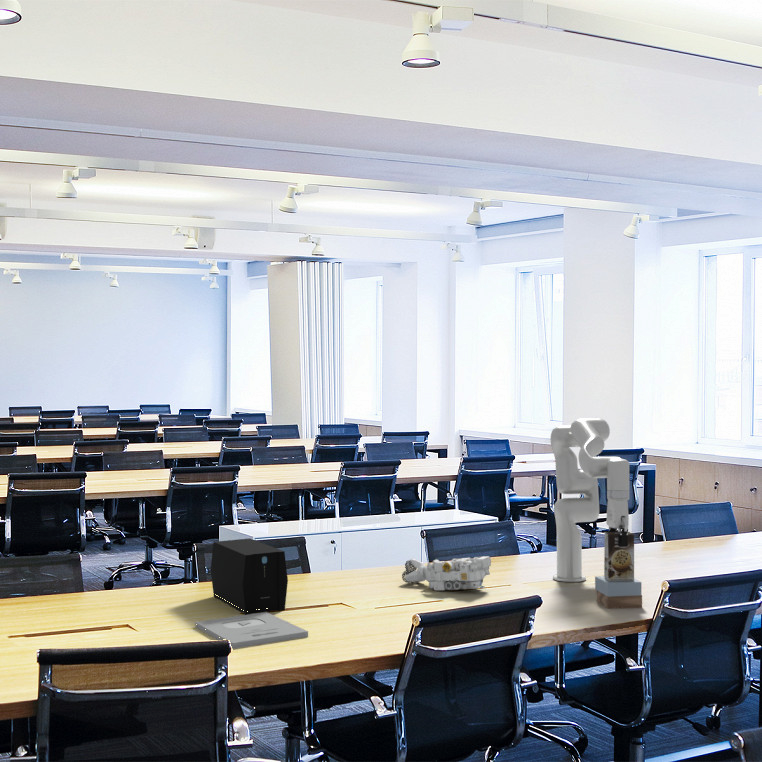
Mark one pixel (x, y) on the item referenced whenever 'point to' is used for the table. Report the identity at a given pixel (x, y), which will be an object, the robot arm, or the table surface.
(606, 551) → the coffee box
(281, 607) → the uninterruptible power supply
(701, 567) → the table surface
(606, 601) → the block lower
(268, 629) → the award plaque
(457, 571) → the spaceship
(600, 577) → the block upper
